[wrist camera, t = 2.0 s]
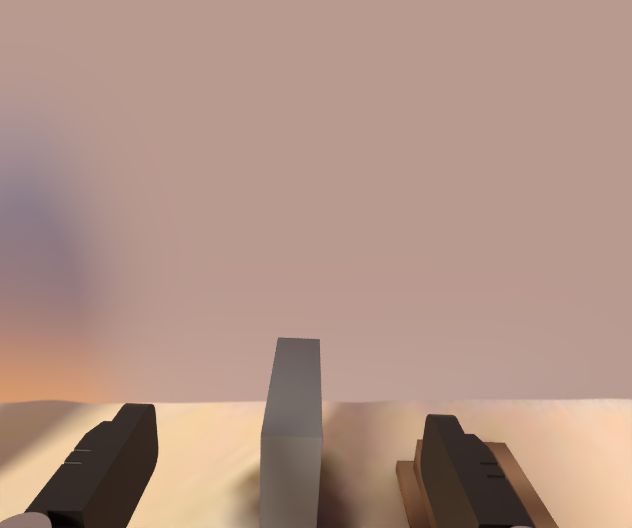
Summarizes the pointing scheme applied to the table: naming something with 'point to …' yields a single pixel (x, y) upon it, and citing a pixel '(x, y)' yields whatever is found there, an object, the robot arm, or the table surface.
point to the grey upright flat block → (292, 437)
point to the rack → (414, 489)
